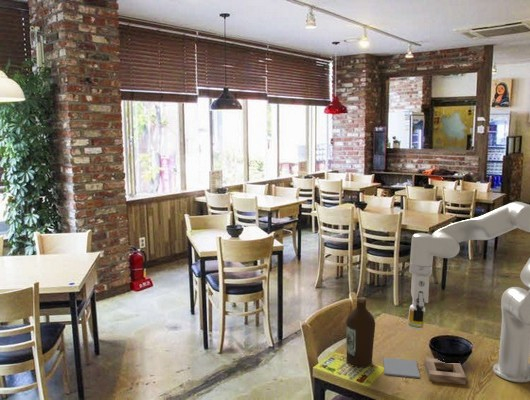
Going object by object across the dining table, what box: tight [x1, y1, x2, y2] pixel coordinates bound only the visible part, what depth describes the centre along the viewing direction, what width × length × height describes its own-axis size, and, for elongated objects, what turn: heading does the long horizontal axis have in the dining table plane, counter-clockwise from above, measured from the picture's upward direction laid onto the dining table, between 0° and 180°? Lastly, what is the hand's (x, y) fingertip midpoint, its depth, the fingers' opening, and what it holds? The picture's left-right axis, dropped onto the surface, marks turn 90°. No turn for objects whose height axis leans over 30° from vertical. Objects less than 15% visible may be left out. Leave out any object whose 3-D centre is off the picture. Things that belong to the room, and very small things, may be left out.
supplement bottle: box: [407, 300, 426, 330], centre depth 167 cm, size 5×5×10 cm
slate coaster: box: [382, 357, 421, 379], centre depth 172 cm, size 12×12×1 cm
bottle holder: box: [424, 357, 467, 385], centre depth 168 cm, size 12×12×2 cm
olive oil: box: [345, 296, 376, 368], centre depth 175 cm, size 11×11×25 cm
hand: (416, 317), depth 167 cm, fingers closed on supplement bottle, 5 cm apart
